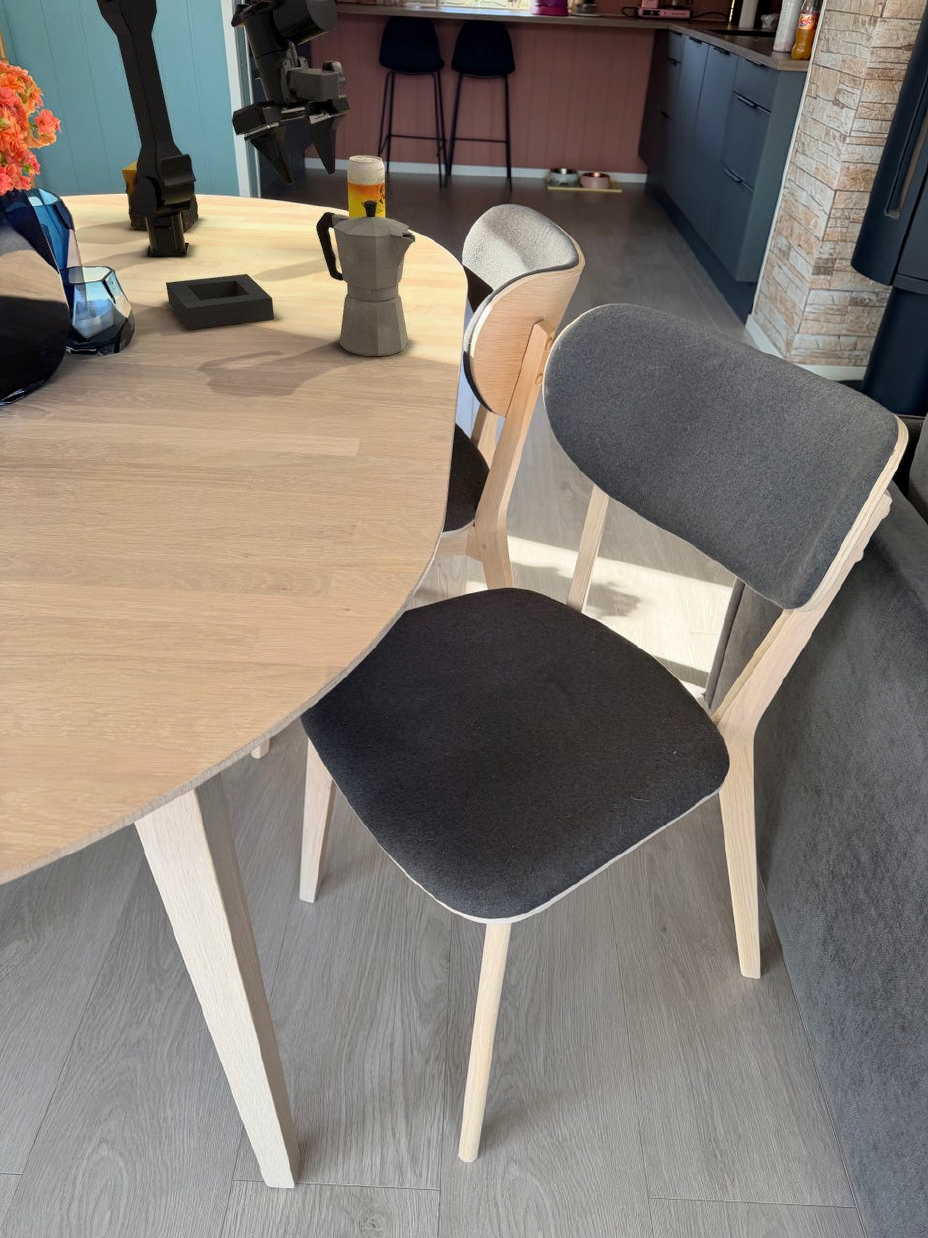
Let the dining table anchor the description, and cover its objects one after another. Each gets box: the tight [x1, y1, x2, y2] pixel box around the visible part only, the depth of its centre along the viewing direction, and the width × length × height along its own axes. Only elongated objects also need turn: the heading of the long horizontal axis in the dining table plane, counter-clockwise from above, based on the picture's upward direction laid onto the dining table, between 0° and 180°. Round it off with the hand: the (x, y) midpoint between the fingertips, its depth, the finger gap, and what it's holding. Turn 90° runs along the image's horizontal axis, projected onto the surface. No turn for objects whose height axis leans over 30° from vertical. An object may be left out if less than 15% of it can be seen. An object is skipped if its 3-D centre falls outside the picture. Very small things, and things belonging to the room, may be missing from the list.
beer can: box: [346, 154, 386, 219], centre depth 150 cm, size 6×6×15 cm
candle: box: [121, 159, 199, 232], centre depth 163 cm, size 10×10×10 cm
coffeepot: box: [315, 200, 417, 357], centre depth 116 cm, size 15×9×18 cm, turn 57°
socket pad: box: [165, 273, 275, 331], centre depth 128 cm, size 12×12×3 cm
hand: (311, 178), depth 129 cm, fingers open, 9 cm apart
